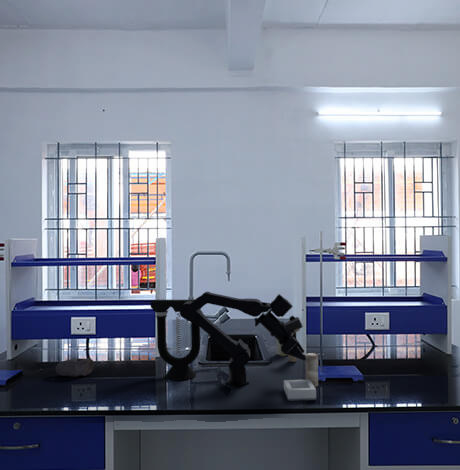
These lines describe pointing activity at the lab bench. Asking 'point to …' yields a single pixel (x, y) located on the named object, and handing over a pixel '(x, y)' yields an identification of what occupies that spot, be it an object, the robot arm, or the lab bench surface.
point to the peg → (312, 368)
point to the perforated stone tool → (75, 367)
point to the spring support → (179, 365)
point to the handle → (291, 358)
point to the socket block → (299, 390)
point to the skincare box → (279, 349)
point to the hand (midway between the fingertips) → (304, 355)
